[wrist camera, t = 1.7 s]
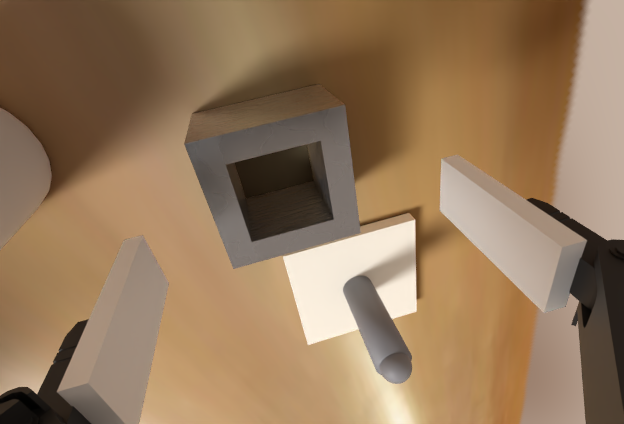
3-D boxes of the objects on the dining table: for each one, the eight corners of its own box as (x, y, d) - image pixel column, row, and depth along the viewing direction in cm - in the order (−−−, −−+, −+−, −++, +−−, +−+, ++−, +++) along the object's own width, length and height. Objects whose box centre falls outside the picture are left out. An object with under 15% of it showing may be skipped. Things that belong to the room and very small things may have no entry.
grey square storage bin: (231, 221, 23) (233, 268, 19) (192, 113, 19) (184, 143, 15) (336, 193, 24) (360, 233, 20) (319, 83, 20) (345, 104, 16)
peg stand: (305, 335, 31) (333, 446, 23) (280, 248, 25) (307, 354, 18) (411, 303, 32) (472, 399, 24) (408, 212, 26) (486, 298, 19)
